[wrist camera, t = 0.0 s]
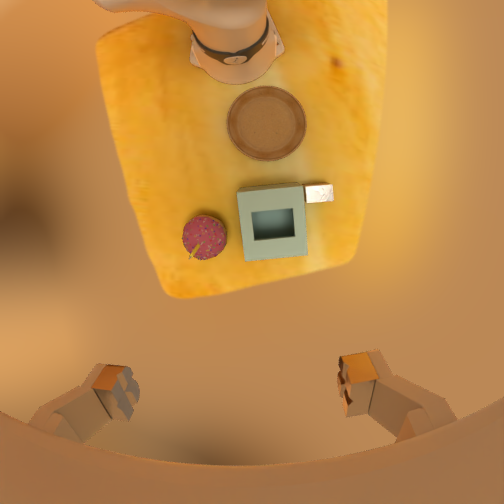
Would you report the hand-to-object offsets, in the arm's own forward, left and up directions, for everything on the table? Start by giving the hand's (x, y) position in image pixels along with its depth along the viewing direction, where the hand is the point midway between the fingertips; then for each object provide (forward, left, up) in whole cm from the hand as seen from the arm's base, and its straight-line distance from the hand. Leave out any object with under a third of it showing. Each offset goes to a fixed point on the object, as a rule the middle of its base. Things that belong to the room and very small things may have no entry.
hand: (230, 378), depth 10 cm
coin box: (+3, +3, -48) cm, 48 cm away
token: (-1, +12, -48) cm, 50 cm away
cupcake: (+5, -10, -48) cm, 50 cm away
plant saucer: (-15, +4, -48) cm, 51 cm away
